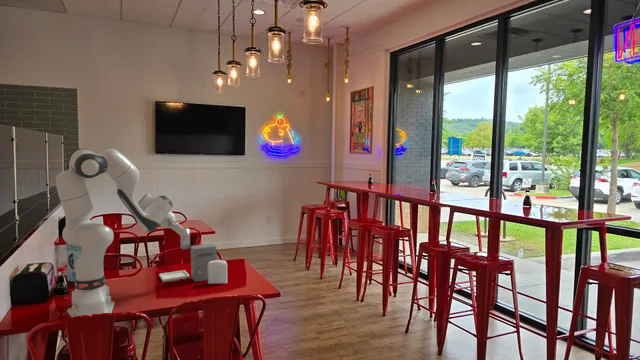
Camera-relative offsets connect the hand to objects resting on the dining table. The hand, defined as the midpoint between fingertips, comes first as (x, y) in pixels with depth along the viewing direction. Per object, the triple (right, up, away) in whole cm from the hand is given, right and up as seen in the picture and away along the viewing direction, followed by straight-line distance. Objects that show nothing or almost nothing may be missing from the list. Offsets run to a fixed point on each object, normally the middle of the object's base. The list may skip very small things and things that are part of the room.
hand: (186, 235), depth 226 cm
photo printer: (+15, -26, +5) cm, 31 cm away
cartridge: (-1, -6, 0) cm, 6 cm away
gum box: (-58, -26, +8) cm, 64 cm away
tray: (-11, -25, +15) cm, 31 cm away
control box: (+6, -25, +13) cm, 29 cm away
